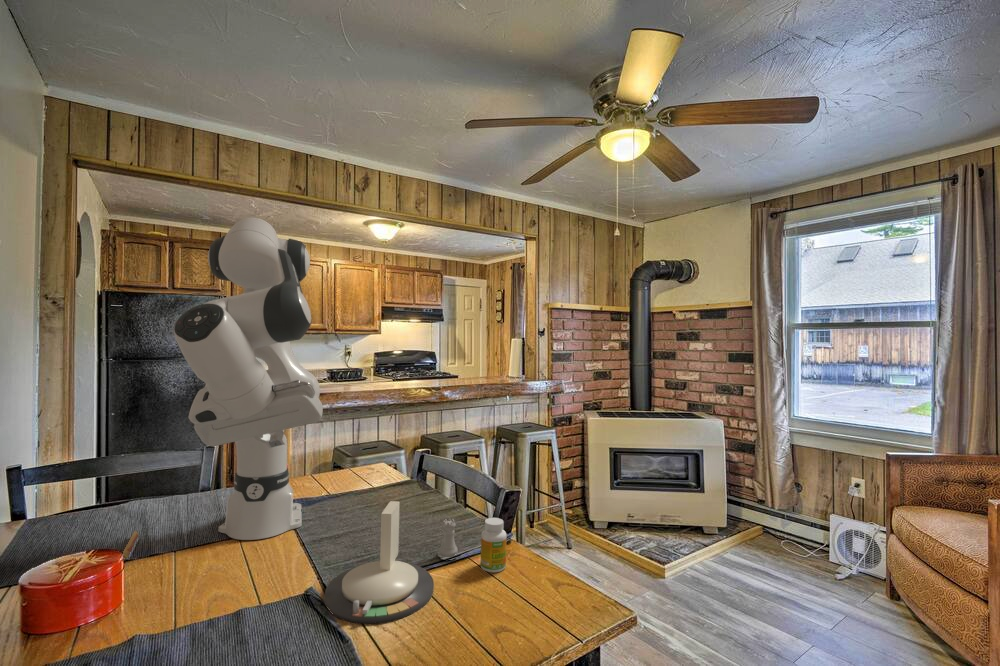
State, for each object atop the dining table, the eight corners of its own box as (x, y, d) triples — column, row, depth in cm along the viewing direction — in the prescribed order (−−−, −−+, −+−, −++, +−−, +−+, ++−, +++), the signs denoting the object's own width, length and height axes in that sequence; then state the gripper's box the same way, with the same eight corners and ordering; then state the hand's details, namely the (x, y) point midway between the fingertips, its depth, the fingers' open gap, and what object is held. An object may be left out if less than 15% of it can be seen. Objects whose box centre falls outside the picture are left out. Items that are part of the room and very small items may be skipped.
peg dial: (360, 558, 100) (361, 500, 100) (426, 560, 99) (427, 502, 99) (323, 614, 80) (325, 541, 80) (406, 616, 79) (407, 544, 79)
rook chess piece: (454, 562, 101) (455, 525, 101) (434, 560, 102) (435, 523, 102) (460, 553, 106) (461, 517, 106) (441, 551, 107) (442, 515, 107)
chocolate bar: (142, 538, 110) (142, 529, 110) (131, 561, 100) (131, 550, 100) (128, 541, 109) (128, 531, 109) (115, 563, 99) (115, 552, 99)
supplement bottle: (491, 576, 96) (492, 528, 96) (475, 565, 100) (476, 520, 100) (511, 567, 100) (512, 521, 100) (494, 558, 104) (495, 514, 104)
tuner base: (304, 591, 89) (305, 575, 89) (394, 556, 104) (394, 542, 104) (361, 639, 75) (361, 620, 75) (455, 592, 90) (455, 576, 90)
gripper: (309, 366, 83) (335, 417, 92) (188, 393, 81) (226, 443, 89) (306, 391, 78) (333, 443, 87) (177, 420, 76) (218, 471, 85)
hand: (278, 443), depth 88 cm, fingers closed
